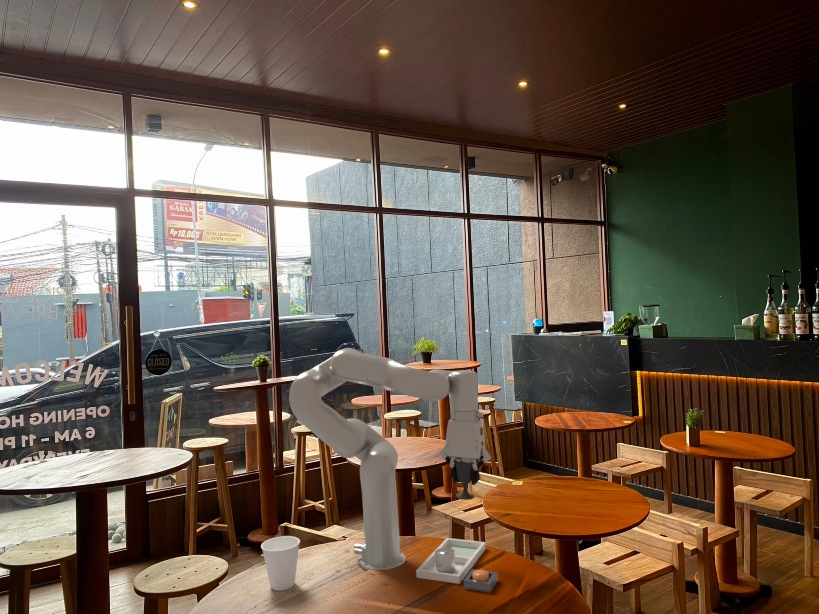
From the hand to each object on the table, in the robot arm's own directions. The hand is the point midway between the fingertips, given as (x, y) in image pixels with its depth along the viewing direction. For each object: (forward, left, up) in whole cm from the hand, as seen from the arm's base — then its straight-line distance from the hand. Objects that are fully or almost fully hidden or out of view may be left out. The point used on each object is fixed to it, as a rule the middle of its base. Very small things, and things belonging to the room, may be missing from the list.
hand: (465, 481), depth 162 cm
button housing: (+8, -14, -22) cm, 27 cm away
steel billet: (-3, -10, -21) cm, 23 cm away
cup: (-41, -28, -22) cm, 54 cm away
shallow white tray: (-3, -4, -22) cm, 22 cm away
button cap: (+8, -14, -20) cm, 26 cm away
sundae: (0, 0, -4) cm, 4 cm away
